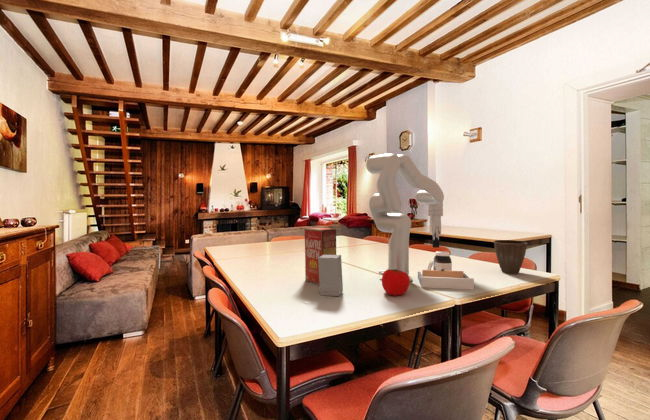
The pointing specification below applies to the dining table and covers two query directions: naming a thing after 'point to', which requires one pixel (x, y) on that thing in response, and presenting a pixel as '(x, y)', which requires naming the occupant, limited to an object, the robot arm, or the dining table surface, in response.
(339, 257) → the skincare box
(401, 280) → the tomato
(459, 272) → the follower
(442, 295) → the dining table surface
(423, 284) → the white rectangular tray
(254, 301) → the dining table surface
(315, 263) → the food packaging
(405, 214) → the robot arm
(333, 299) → the dining table surface
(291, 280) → the dining table surface
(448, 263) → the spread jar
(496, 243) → the plant pot
